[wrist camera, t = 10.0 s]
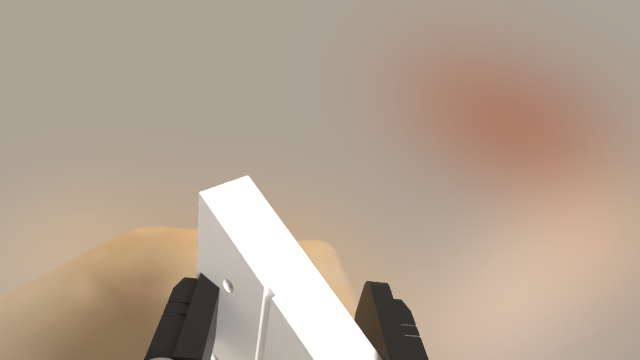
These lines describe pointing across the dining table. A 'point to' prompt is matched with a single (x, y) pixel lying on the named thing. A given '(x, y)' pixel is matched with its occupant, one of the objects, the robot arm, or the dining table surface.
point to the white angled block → (268, 285)
